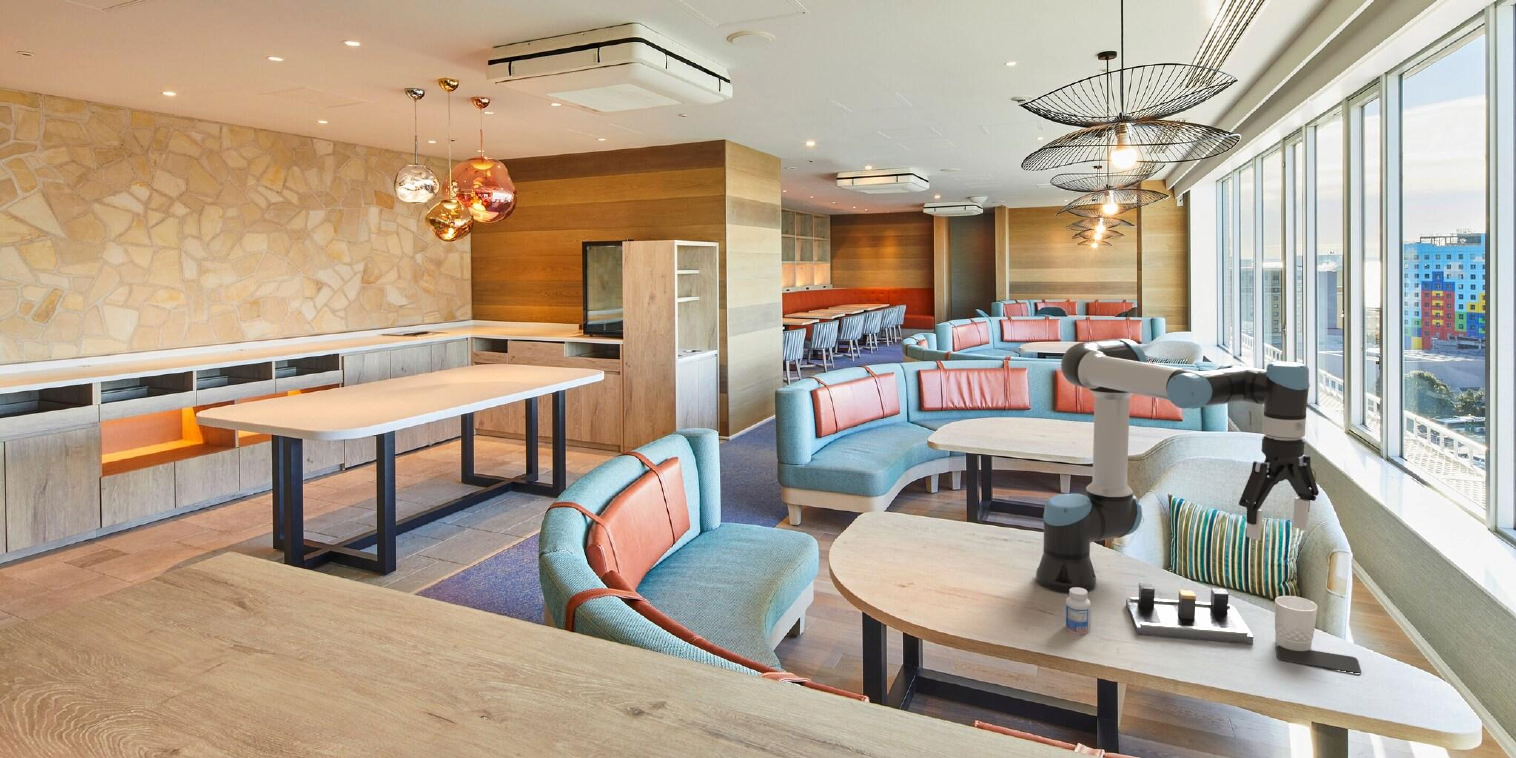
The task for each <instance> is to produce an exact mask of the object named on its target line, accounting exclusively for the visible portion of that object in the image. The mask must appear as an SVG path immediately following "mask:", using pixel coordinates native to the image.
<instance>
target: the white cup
mask: <svg viewBox="0 0 1516 758" xmlns="http://www.w3.org/2000/svg"><path fill="white" fill-rule="evenodd" d="M1317 613H1318V605H1317V604H1316V602H1314V601H1311V600H1310V599H1307V598H1303V597H1300V596H1294V595H1281V596H1276V597H1275V599H1274V631H1275V640H1274V641H1275V643H1276V644H1277V645H1280V646H1282V647H1283V648H1286V649H1290V650H1295V651H1307V650H1312V645H1313V644H1312V643H1313V639H1314V634H1315V629H1316V621H1317ZM1277 645H1276V646H1277Z"/></svg>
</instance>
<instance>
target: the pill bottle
mask: <svg viewBox="0 0 1516 758" xmlns="http://www.w3.org/2000/svg"><path fill="white" fill-rule="evenodd" d="M1068 595H1069V597H1067V598H1066V601H1065V629H1067V631H1069V632H1070V633H1073V634H1078V635H1085V634H1087V633H1089V632H1090V631H1091V601H1090V599H1089V598H1088V596H1089V595H1088V592H1087V590H1085V589H1083V588H1079V587H1074V588H1071V589H1070V590H1069V593H1068Z"/></svg>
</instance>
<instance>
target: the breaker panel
mask: <svg viewBox="0 0 1516 758" xmlns="http://www.w3.org/2000/svg"><path fill="white" fill-rule="evenodd" d="M1155 593H1156V590H1155V586H1154V585H1153V584H1152V583H1139V582H1138V597H1135V596H1131V597H1130V598H1128V597H1125V608H1126V609H1127V613H1128V615H1129V619H1130V620H1131V623H1132V627H1133V628H1134V631H1135V634H1136V636H1141V637H1152V638H1154V637H1155V638H1163V639H1164V638H1165V639H1175V640H1176V639H1179V640H1191V641H1199V642H1200V641H1202V642H1214V643H1224V644H1225V643H1226V644H1227V643H1228V644H1237V645H1238V644H1239V645H1250V646H1254V635H1253V633H1252V632H1251V631H1250V629H1249V628H1248V626H1247V624H1246V623H1245V621H1244V620H1243V619H1242V617H1241V615H1240V614H1239V612H1238V611H1237V609H1236V608H1235V606H1233V605H1231V604H1230V603H1229V593H1228V591H1227V590H1226V589H1225V588H1214V587H1211V588H1210V602H1206V601H1205V602H1203V601H1196V605H1195V619H1184V618H1180V616H1179V614H1178V601H1179V599H1178V600H1175V599H1164V598H1162V599H1161V598H1155Z"/></svg>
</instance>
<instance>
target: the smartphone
mask: <svg viewBox="0 0 1516 758" xmlns="http://www.w3.org/2000/svg"><path fill="white" fill-rule="evenodd" d="M1275 657H1276V659H1277V660H1278V661H1280V662H1285V663H1291V664H1296V665H1300V666H1307V667H1312V668H1318V669H1322V668H1323V669H1324V670H1328V671H1333V670H1340V671H1346V672H1353V673H1361V674H1362V670H1361V667H1360V666H1361V665H1360V661H1359V660H1358V658H1357V657H1355V656H1352V655H1351V656H1349V655H1345V654H1344V655H1343V654H1337V653H1332V652H1331V653H1330V652H1326V651H1325V652H1324V651H1319V650H1313V649H1311V650H1307V651H1295V650H1290V649H1286V648H1283V647H1282V646H1280V645H1276V646H1275Z"/></svg>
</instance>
